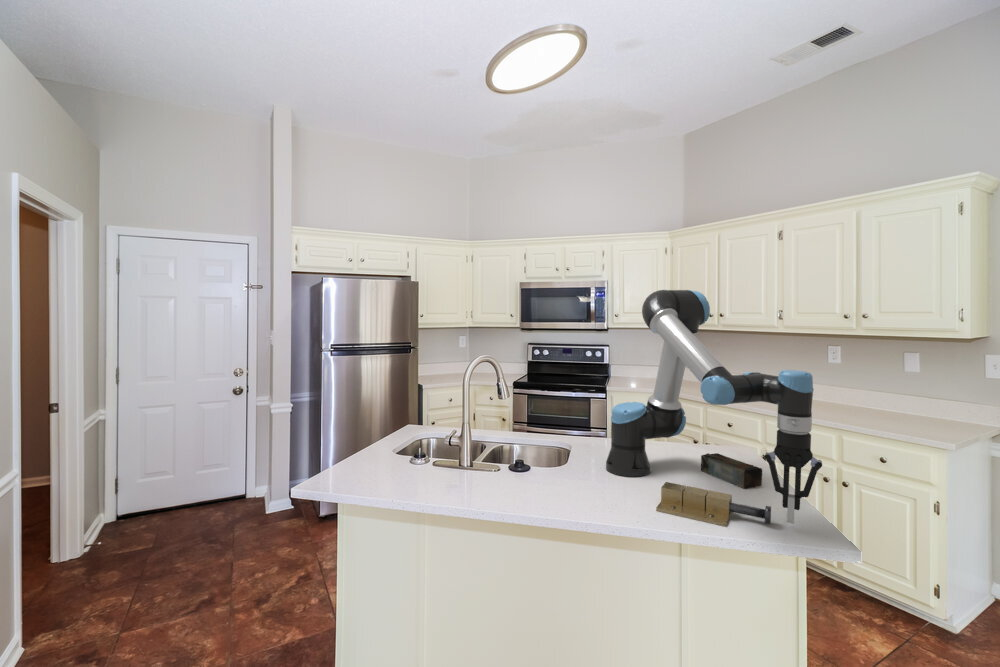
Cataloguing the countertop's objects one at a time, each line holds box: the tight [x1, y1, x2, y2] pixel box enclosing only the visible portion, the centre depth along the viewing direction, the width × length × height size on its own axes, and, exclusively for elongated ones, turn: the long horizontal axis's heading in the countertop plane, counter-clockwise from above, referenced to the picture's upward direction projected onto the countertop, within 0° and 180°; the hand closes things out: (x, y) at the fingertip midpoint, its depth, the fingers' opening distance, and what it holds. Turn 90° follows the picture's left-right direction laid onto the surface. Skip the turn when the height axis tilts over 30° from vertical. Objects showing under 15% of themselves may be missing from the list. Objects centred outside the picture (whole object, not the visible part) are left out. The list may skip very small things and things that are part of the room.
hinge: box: [655, 481, 733, 527], centre depth 138 cm, size 18×15×5 cm
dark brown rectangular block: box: [700, 452, 763, 490], centre depth 163 cm, size 8×19×7 cm, turn 21°
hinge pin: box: [729, 502, 772, 525], centre depth 133 cm, size 19×4×4 cm, turn 57°
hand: (790, 520), depth 125 cm, fingers closed
